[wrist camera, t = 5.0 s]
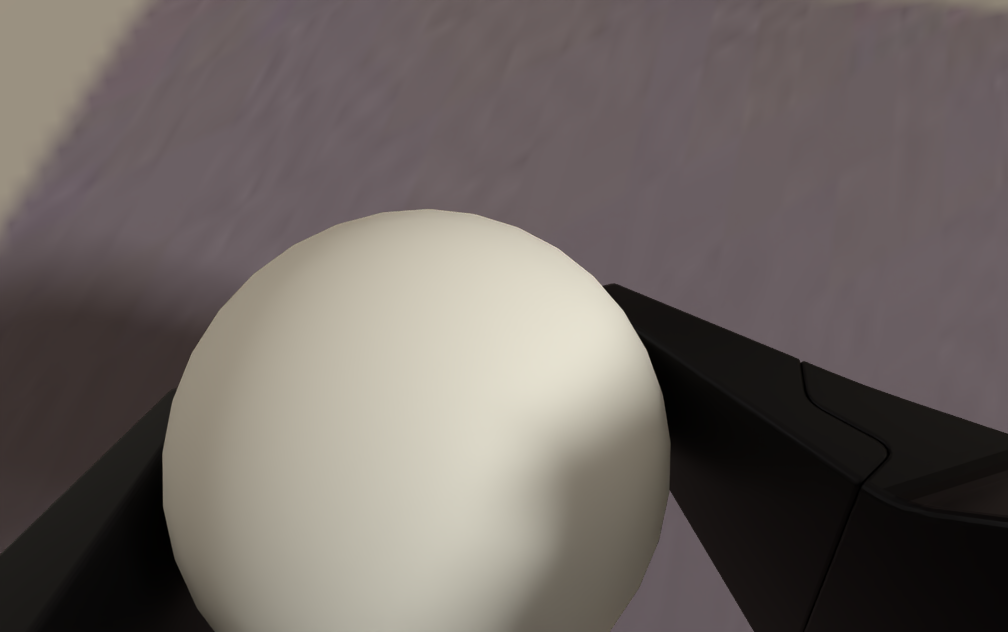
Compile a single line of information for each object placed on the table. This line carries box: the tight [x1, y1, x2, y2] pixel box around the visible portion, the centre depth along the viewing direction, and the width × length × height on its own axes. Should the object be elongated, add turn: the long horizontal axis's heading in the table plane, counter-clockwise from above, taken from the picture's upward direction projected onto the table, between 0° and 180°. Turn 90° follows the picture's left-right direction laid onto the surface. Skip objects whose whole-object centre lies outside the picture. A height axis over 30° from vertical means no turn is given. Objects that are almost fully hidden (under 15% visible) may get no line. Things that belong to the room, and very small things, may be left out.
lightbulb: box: [162, 209, 671, 632], centre depth 10 cm, size 6×6×11 cm
